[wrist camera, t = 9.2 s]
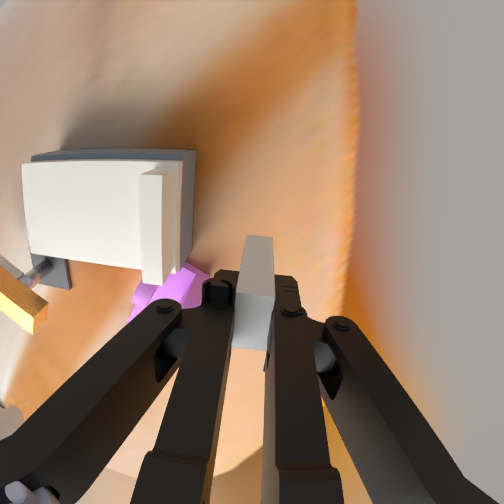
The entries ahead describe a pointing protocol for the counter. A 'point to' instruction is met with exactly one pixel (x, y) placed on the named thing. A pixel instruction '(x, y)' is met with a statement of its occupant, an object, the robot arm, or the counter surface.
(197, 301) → the bracket
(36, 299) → the key
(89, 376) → the robot arm
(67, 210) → the cover
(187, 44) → the counter surface
